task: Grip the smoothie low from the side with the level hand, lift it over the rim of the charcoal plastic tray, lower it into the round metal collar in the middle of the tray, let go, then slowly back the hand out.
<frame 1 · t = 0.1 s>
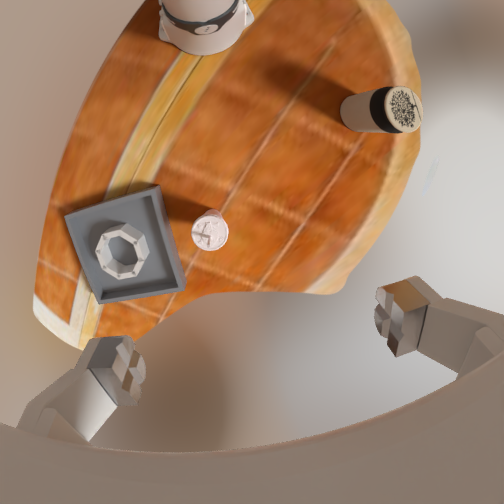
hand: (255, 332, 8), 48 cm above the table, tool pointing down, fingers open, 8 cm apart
smoothie: (212, 217, 56), on the table
travel mug: (356, 113, 50), on the table
tray: (126, 246, 57), on the table
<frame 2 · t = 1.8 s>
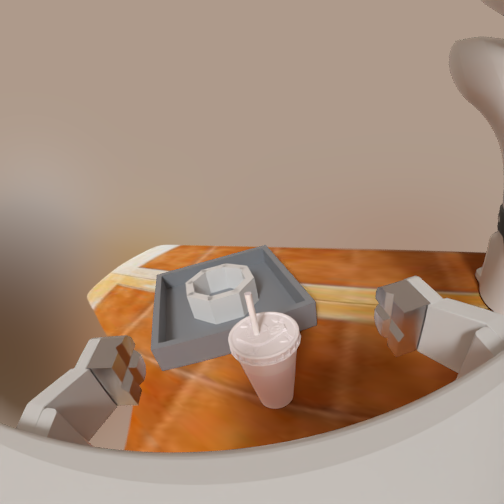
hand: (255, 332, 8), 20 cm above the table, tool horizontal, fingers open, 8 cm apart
smoothie: (276, 396, 28), on the table
tray: (225, 307, 45), on the table
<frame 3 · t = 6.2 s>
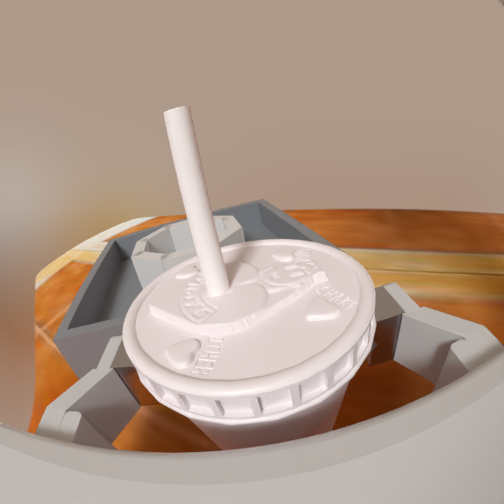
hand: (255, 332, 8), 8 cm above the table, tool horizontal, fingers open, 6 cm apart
smoothie: (283, 454, 11), on the table, touching gripper
tray: (198, 281, 28), on the table
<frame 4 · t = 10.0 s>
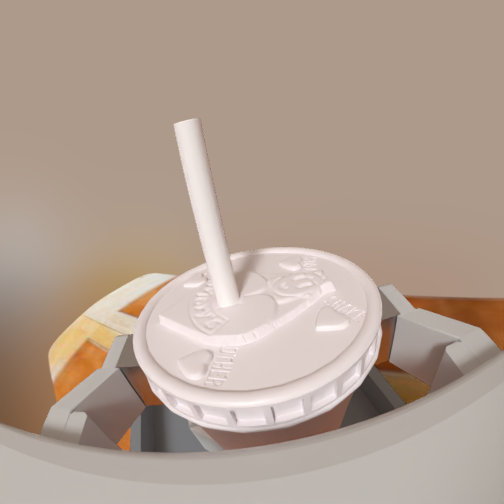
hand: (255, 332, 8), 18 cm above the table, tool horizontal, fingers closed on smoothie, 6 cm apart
smoothie: (287, 457, 11), point 10 cm above the table, touching gripper
tray: (258, 421, 23), on the table
when the fingers open (9 cm above the table, at t = 13.4 s): smoothie moves 1 cm, resting on tray.
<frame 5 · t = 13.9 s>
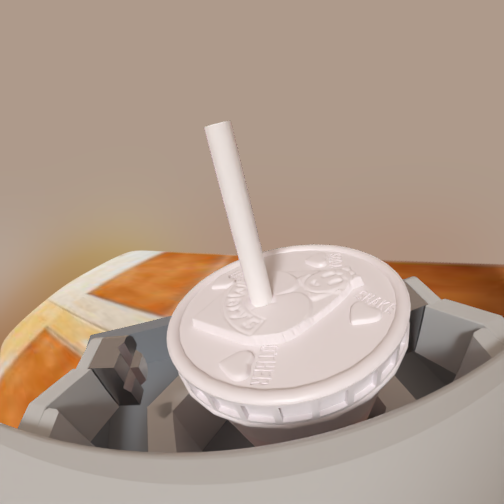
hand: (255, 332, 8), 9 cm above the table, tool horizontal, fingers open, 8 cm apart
smoothie: (312, 451, 11), point 1 cm above the table, touching gripper, tray
tray: (285, 462, 11), on the table
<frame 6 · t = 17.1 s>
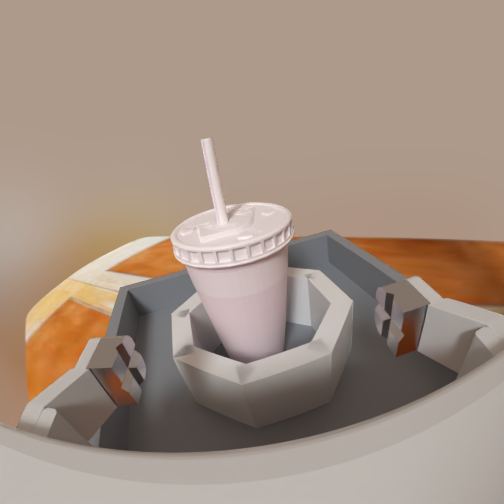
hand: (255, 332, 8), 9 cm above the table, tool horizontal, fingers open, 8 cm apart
smoothie: (257, 355, 19), point 1 cm above the table, touching tray
tray: (269, 367, 18), on the table
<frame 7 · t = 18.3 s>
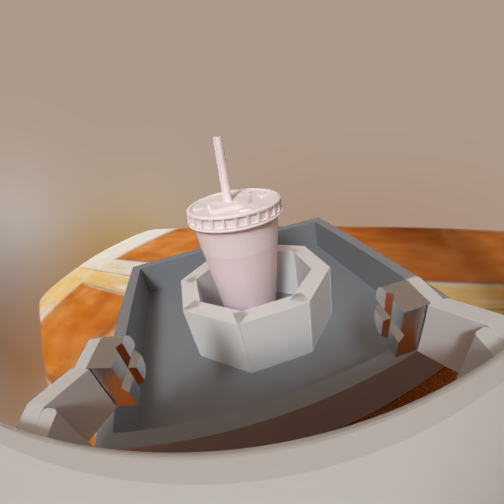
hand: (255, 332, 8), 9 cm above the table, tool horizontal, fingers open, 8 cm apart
smoothie: (252, 318, 23), point 1 cm above the table, touching tray
tray: (262, 329, 22), on the table
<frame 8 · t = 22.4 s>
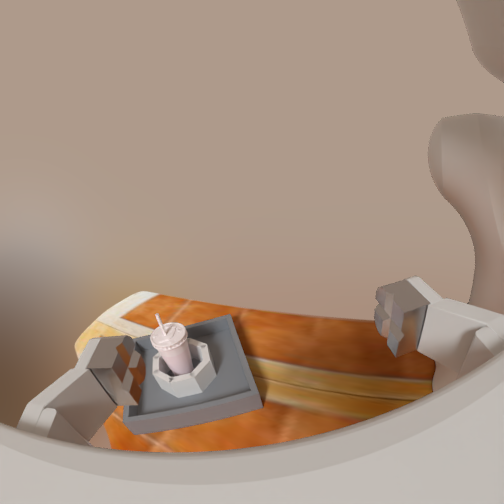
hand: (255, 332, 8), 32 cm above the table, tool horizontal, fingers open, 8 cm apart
smoothie: (185, 373, 47), point 1 cm above the table, touching tray
tray: (189, 377, 47), on the table
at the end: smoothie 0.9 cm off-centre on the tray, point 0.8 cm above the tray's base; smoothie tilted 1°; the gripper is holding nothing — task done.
